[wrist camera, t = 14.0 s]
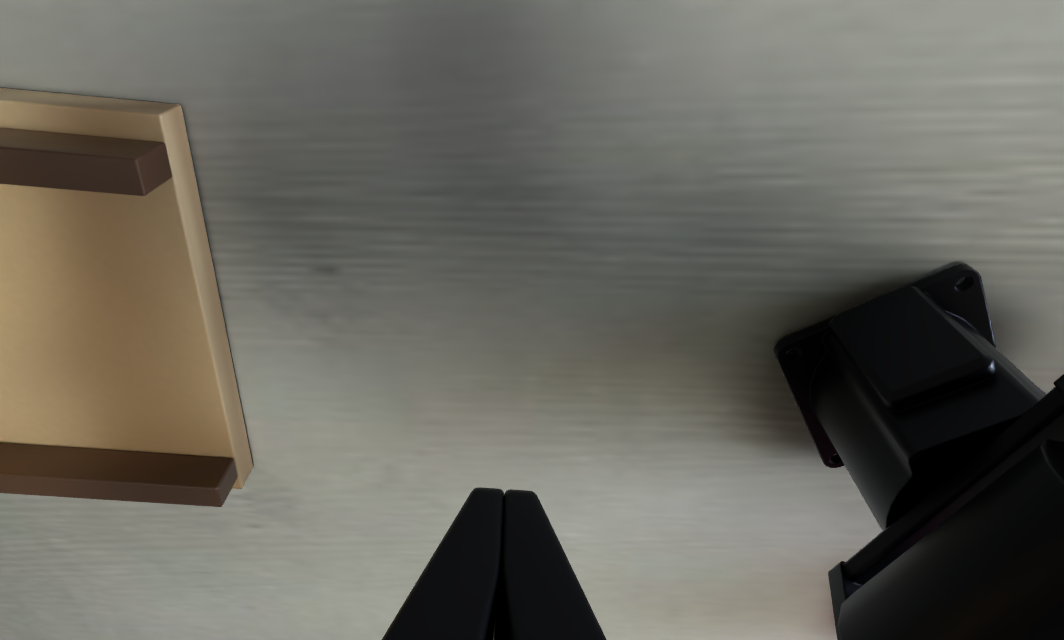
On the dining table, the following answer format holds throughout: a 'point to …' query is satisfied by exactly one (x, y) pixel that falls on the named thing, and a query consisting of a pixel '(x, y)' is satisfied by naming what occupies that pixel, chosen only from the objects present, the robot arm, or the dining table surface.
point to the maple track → (110, 309)
